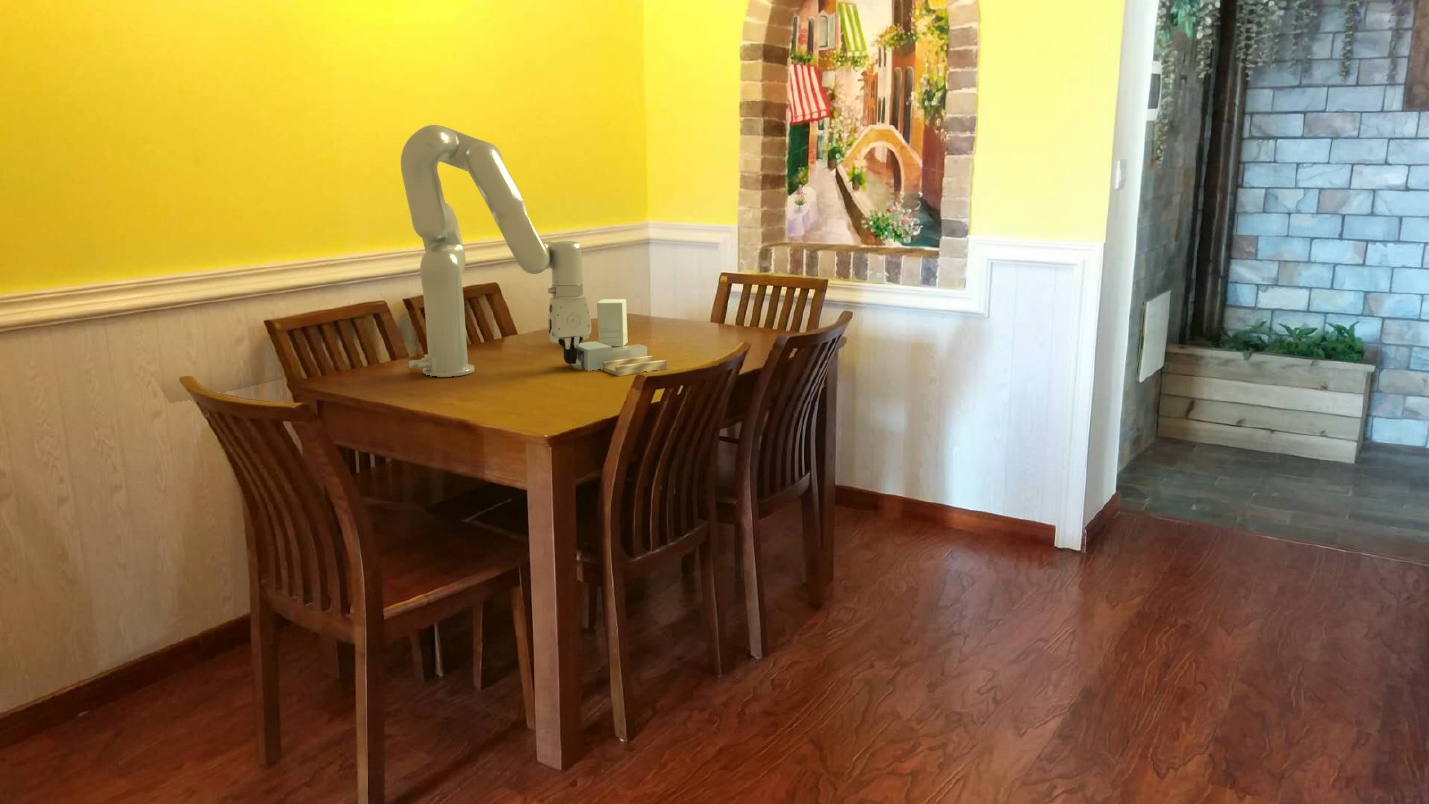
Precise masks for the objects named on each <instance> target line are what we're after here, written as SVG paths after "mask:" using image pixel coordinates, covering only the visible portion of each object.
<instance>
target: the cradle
mask: <svg viewBox="0 0 1429 804" xmlns="http://www.w3.org/2000/svg"><path fill="white" fill-rule="evenodd" d="M664 369H665V370H667V369H668V365H667V360H665V359H663V360H661V359H660V360H654V356H653V355H647V356H645V357H637V358H630V359H622V360H614V361H607V362H603V369H602V371H603V370H604V372H606V373H609V374H611V375H614V376H616V377H620V376H628V375H629V376H630V375H636V374H643V373H645V372H643V371H647V372H646V373H651V372H652V371H651V370H658V371H663V370H664ZM665 370H664V371H665Z"/></svg>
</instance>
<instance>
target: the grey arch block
mask: <svg viewBox="0 0 1429 804" xmlns="http://www.w3.org/2000/svg"><path fill="white" fill-rule="evenodd" d="M612 348H613V346H608V345H605V344H602V343H599V341H587V342H581V343H580V344H579V347H578V348H577V353H578V352H584V367H585V369H584V370H585V371H586V370H587V371H586V372H592V370H594V371H599V370H598V369H601V370H603V362H607V361H613V358H612ZM571 366H573V364H571Z"/></svg>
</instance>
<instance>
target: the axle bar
mask: <svg viewBox="0 0 1429 804" xmlns="http://www.w3.org/2000/svg"><path fill="white" fill-rule="evenodd" d="M645 356H648V346H646V345H643V344H640V343H637V344H630V345H624V346H613V347H612V358H613V361H614V360H622V359H630V358H637V357H645ZM572 368H574V369H578V368H580V369H579V370H581V369H582V370H584V369H583V368H585V367H584V352H578V353H577V360H576V364H573V365H572Z"/></svg>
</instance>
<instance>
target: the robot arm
mask: <svg viewBox="0 0 1429 804" xmlns="http://www.w3.org/2000/svg"><path fill="white" fill-rule="evenodd" d="M503 160H504V159H503V155H502V152H501V151H500V149H499V148H498V147H497V146H496V145H494V143H490V142H487V141H485V140H482V139H479V138H475V137H473V136H471V135H468V134H465V133H462V132H461V131H457V130H455V129H452V128H449V127H446V126H443V125H438V124H429V125H426V126H423V127H421V128H420V129H418V130H417V131H415V132H414V133H413V134H412V135H411V136H410V137H409V138H408V139H407V140H406V143H404V146H403V149H402V150H401V156H400V169H401V170H400V171H401V175H402V180H403V181H402V182H403V186H404V190H405V195H406V200H407V204H408V208H409V213H410V218H411V224H412V227H413V230H414V231H415V233H416V234H417V235H418V237H420V238H422V239H421V240H422V242H423V243H422V244H423V246H424V251H425V253H424V254H423V256H422V258H421V261H420V265H419V272H420V273H419V274H420V279H421V287H422V294H423V296H422V297H423V307H424V314H425V315H424V317H425V330H426V345H427V354H424V355H423V356H424V357H422V358H421V359H412V360H408V366H409V368H410V369H422V374H423V373H424V374H426V375H425V376H427V375H430V376H429V377H432V376H437V377H436V378H452V376H454V377H460V376H465V375H469V374H472V373H474V372H475V365H473V364H470V363H468V360H469V359H468V349H467V348H468V346H467V332H466V318H465V317H466V316H465V314H466V313H465V301H464V290H463V282H462V274H463V272H464V270H465V269H466V264H467V260H466V259H467V258H466V253H465V249H464V244H463V239H462V237H461V231H460V228H459V223H458V222H459V221H458V220H457V215H456V212H455V211H454V209H453V208H452V206H450V204H449V203H447V202H446V200H445V196H444V193H443V188H442V182H441V179H440V177H439V173H438V166H439V163H440V162H441V163H444V164H446V165H449V166H452V167H454V168H457V169H459V170H463V171H466V172H468V174H469V175H470V177H471V179H472V181H473V183H474V185H475V186H476V188H477V189H478V191H479V193H480V194H481V198H483V200H484V202H485V204H486V205H487V208H488V210H489V212H490V213H491V215H492V217H493V219H494V222H495V223H496V225H497V227H498V229H499V231H500V232H501V235H502V236H503V238H504V241H505V243H506V244H507V246H508V247H509V250H510V251H511V253H512V255H513V257H514V259H515V261H516V262H517V264H518V265H519V267H520V268H521V269H522V270H523V272H526V273H527V274H531V275H538V274H541V273H543V272H544V271H546V270H548V269H551V283H552V284H551V287H549V288H548V287H547V294H548V295H549V294H551V295H552V296H551V297H550V298H549V300H550V301H549V305H548V313H547V314H548V320H547V322H548V323H547V326H548V327H547V328H548V334H549V339H548V340H549V342H550V343H555V344H558V345H560V347H561V348H563V360H564V362H565V363H566V364H567V365H572V364H576V360H577V348H578V347H579V344H580V343H582V342H583V341H585V340H587V339H589V338H590V336H591V335H590V334H591V333H592V322H591V321H592V320H591V312H590V306H589V302H588V297H587V295H584V286H583V285H584V283H583V281H584V280H583V255H582V245H581V243H580V242H578V241H576V240H575V241H572V240H560V241H559V240H558V241H545V240H541V238H540V237H539V234H538V233H537V231H536V229H535V227H534V226H533V223H532V221H531V219H530V217H529V214H528V211H527V208H526V203H525V200H524V197H523V195H522V194H521V191H520V190H519V188H518V186H517V185H516V183H515V181H514V178H513V177H512V175H511V173H510V172H509V170H508V168H507V166H506V164H505V162H504V161H503ZM424 374H423V375H424Z"/></svg>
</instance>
